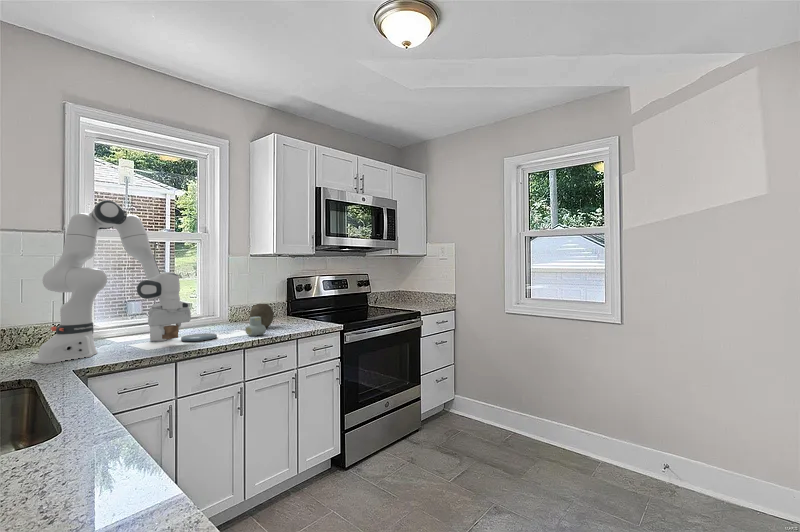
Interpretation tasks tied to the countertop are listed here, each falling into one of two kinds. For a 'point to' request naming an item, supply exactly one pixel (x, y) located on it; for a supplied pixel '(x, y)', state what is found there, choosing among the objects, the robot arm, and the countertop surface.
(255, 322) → the air freshener
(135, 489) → the countertop surface
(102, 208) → the robot arm
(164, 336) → the block
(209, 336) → the dish
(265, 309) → the dark rounded stone
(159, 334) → the milk carton
